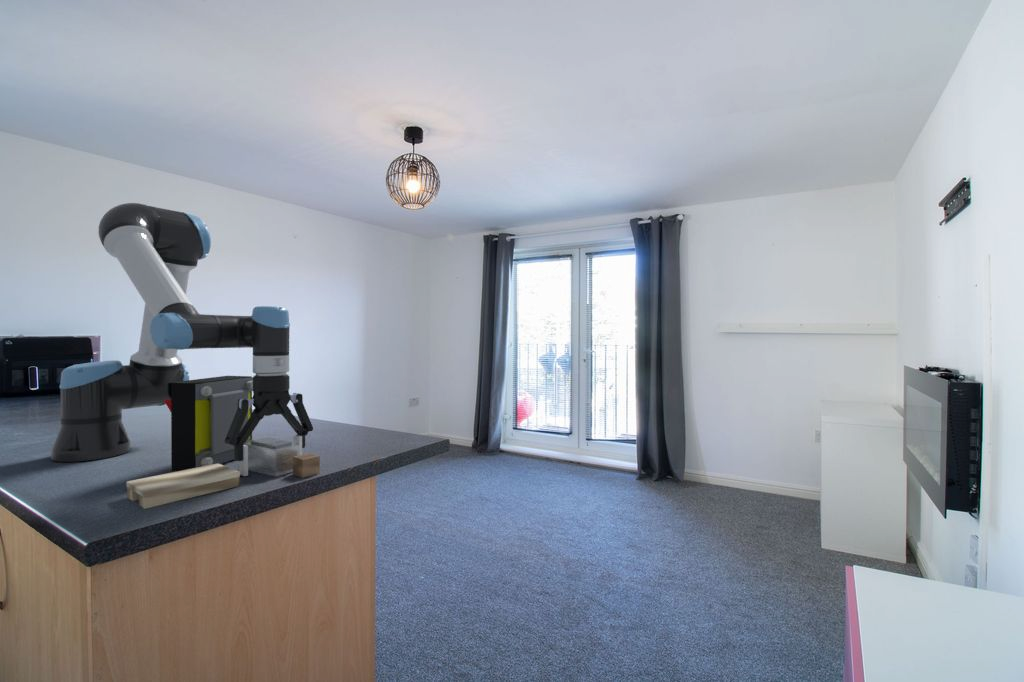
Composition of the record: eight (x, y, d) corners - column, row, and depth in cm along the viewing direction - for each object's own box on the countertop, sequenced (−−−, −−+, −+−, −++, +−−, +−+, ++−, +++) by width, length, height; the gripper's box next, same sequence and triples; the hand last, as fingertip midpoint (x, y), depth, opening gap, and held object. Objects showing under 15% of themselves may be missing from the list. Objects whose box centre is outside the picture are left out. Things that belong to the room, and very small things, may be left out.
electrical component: (202, 473, 106) (202, 383, 106) (164, 470, 108) (163, 382, 108) (259, 453, 124) (259, 376, 123) (225, 451, 126) (225, 375, 125)
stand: (126, 497, 91) (126, 481, 91) (218, 477, 104) (218, 463, 104) (145, 509, 85) (145, 492, 85) (239, 486, 98) (239, 471, 98)
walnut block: (292, 474, 106) (292, 456, 106) (309, 470, 110) (309, 453, 110) (302, 478, 104) (302, 459, 104) (319, 473, 107) (319, 455, 107)
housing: (242, 469, 110) (242, 440, 110) (267, 463, 116) (267, 436, 115) (275, 477, 104) (275, 447, 104) (299, 470, 110) (299, 442, 110)
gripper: (221, 378, 98) (222, 484, 98) (328, 371, 117) (328, 459, 117) (206, 376, 102) (206, 478, 102) (311, 370, 122) (311, 455, 122)
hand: (271, 468), depth 110 cm, fingers open, 12 cm apart
